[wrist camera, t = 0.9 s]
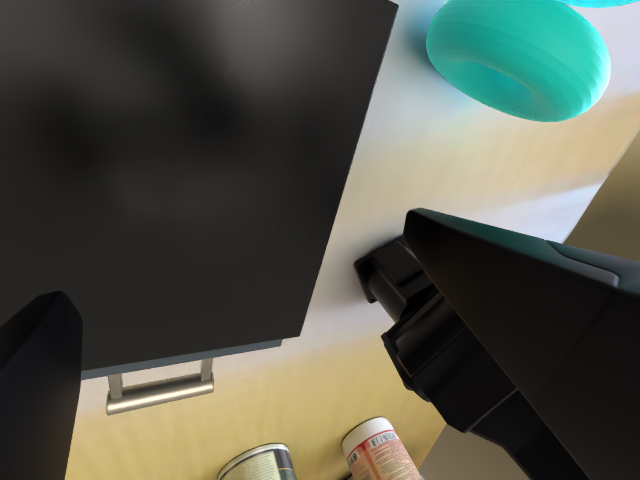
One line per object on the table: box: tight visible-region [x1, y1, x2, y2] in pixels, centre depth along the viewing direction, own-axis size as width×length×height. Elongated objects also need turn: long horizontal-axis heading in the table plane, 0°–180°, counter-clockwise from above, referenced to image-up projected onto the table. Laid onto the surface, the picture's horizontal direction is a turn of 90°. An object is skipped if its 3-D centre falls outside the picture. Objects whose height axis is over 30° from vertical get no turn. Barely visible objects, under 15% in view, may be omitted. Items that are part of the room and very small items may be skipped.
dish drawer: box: [81, 339, 282, 415], centre depth 17 cm, size 21×13×7 cm, turn 165°
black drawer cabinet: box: [0, 0, 399, 371], centre depth 14 cm, size 16×14×8 cm
